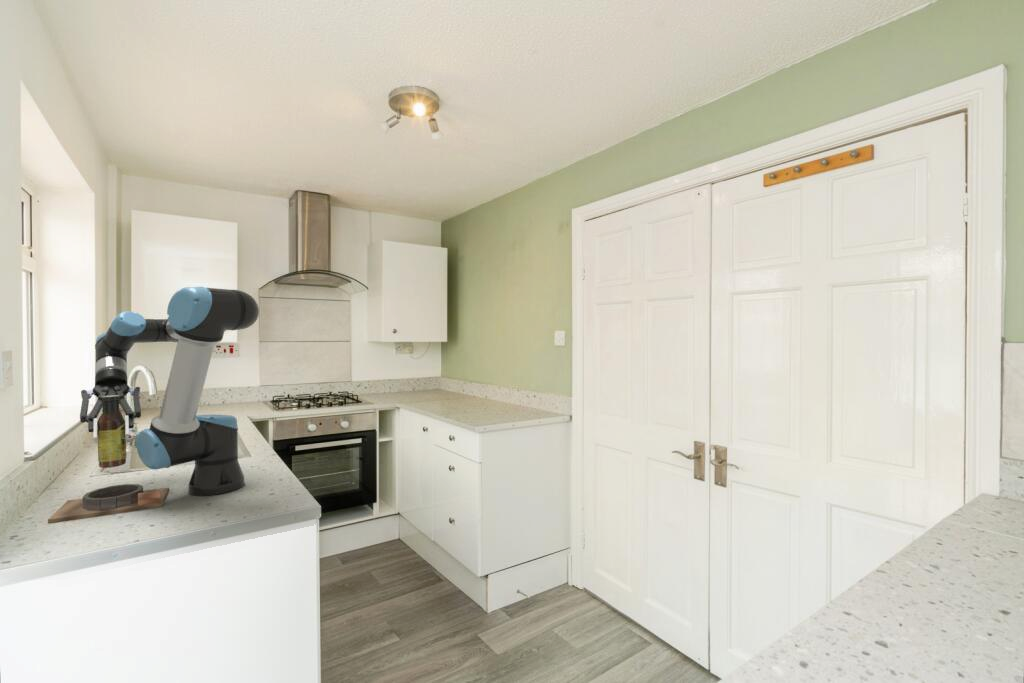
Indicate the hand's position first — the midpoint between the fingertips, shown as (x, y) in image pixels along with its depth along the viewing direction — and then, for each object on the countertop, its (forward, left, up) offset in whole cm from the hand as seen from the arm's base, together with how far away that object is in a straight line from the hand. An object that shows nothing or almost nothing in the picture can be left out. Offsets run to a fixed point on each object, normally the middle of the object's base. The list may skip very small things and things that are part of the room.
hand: (111, 438), depth 136 cm
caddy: (+2, -3, -20) cm, 20 cm away
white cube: (+26, -39, -20) cm, 51 cm away
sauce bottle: (+2, -3, -9) cm, 9 cm away
